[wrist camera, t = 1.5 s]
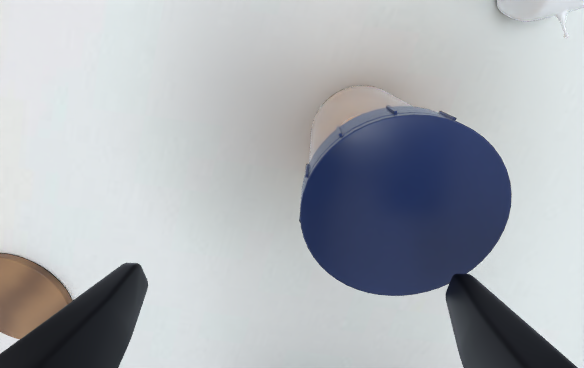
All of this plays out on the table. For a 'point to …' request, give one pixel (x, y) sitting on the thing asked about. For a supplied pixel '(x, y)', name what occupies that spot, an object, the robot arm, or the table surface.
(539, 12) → the elephant figurine
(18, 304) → the coaster
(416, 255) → the jar lid
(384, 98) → the jar
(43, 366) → the robot arm
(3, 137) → the table surface
